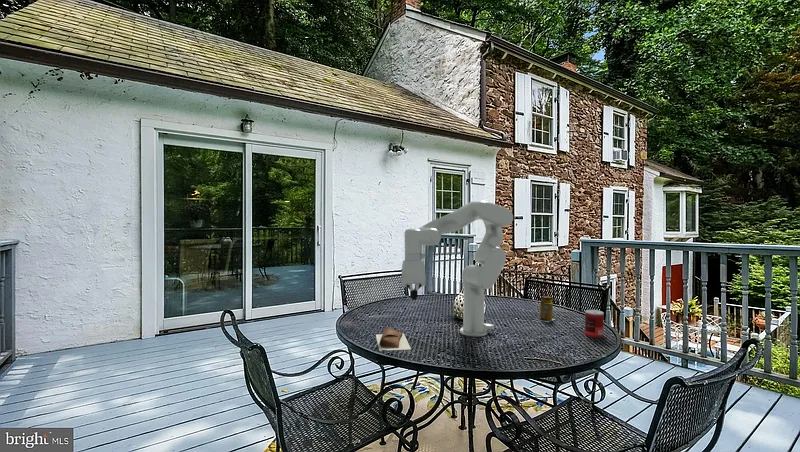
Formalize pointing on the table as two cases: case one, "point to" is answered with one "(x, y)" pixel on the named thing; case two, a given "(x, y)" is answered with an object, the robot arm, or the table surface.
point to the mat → (402, 346)
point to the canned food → (594, 323)
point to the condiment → (546, 309)
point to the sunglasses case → (390, 338)
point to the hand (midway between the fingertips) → (413, 299)
